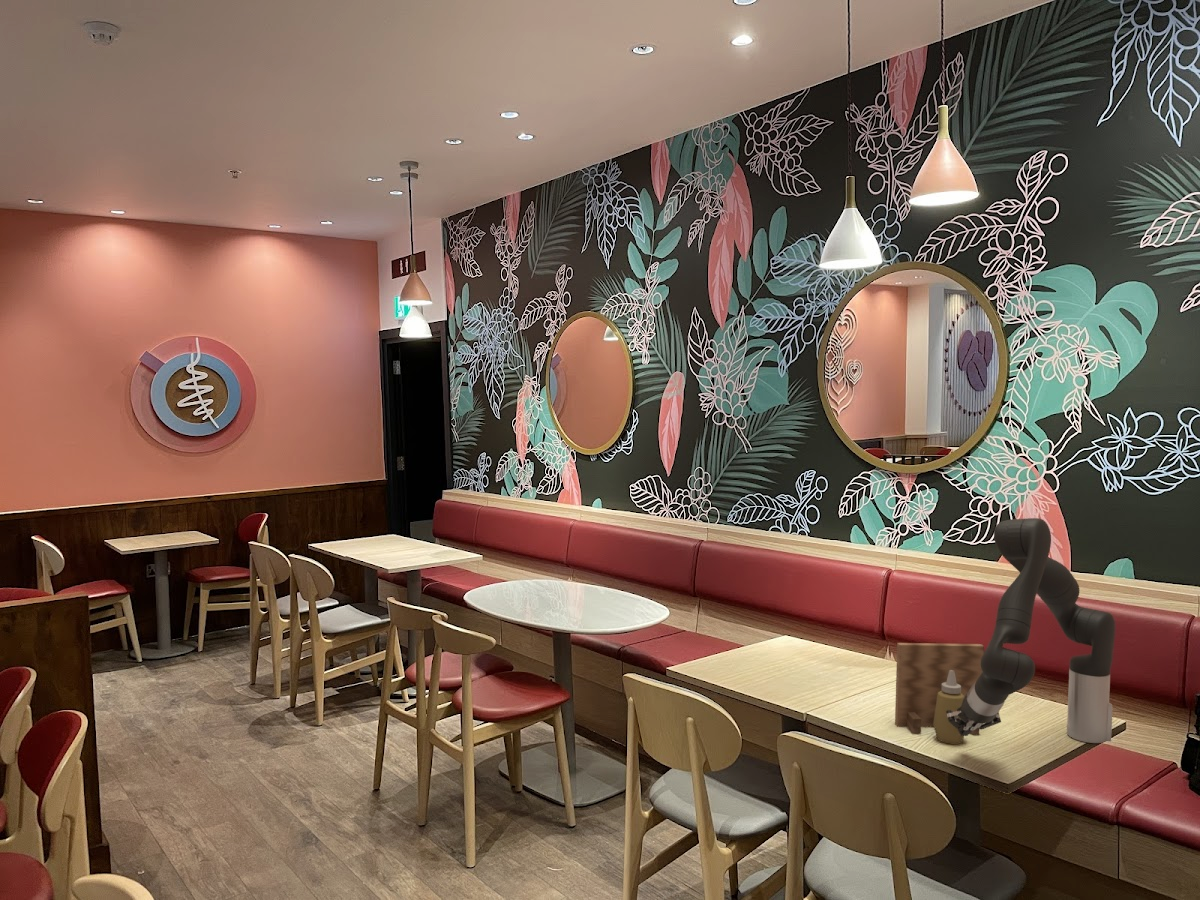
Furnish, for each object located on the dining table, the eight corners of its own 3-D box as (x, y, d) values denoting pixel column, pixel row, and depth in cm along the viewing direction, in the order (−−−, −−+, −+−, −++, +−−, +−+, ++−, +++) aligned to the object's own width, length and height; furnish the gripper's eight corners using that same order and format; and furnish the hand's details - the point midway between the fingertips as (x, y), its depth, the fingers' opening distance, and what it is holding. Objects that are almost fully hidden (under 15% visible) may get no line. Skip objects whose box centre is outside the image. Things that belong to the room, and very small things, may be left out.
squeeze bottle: (937, 731, 232) (939, 664, 231) (970, 739, 228) (972, 669, 226) (928, 741, 226) (930, 671, 225) (961, 749, 221) (964, 677, 220)
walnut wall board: (978, 725, 237) (980, 644, 236) (988, 735, 230) (991, 651, 229) (894, 723, 238) (897, 642, 236) (903, 733, 231) (905, 650, 229)
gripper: (1009, 685, 208) (986, 718, 221) (951, 684, 208) (932, 717, 221) (1018, 716, 203) (994, 747, 216) (959, 714, 203) (938, 746, 216)
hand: (962, 732), depth 218 cm, fingers closed
